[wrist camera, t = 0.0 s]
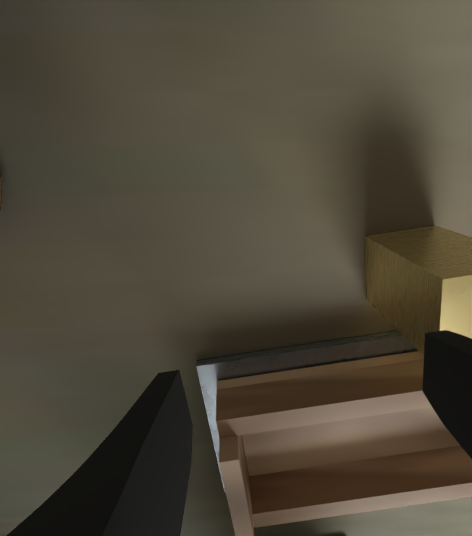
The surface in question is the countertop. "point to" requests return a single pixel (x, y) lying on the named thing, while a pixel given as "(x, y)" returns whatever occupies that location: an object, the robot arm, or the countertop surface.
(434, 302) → the block
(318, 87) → the countertop surface
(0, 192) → the tin
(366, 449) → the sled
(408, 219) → the countertop surface
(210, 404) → the track
